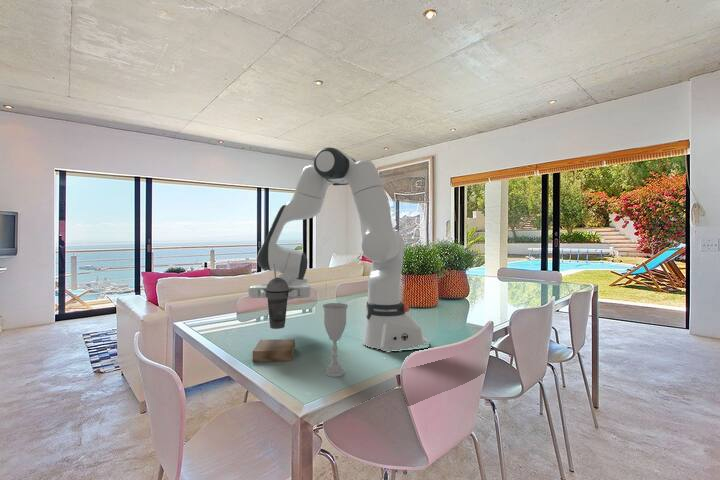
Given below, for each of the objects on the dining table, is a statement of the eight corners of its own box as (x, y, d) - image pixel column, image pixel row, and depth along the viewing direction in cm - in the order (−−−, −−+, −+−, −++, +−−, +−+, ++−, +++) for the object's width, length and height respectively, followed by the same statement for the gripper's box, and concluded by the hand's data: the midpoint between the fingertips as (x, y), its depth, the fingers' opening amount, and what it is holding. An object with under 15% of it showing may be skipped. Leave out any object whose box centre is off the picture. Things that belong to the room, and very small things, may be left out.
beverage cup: (283, 330, 104) (283, 265, 104) (261, 329, 106) (261, 264, 106) (292, 324, 112) (292, 263, 111) (271, 323, 113) (272, 262, 113)
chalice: (322, 367, 95) (322, 303, 95) (346, 367, 96) (347, 302, 95) (321, 378, 88) (322, 308, 88) (348, 378, 88) (348, 308, 88)
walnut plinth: (294, 348, 111) (295, 339, 111) (291, 360, 100) (291, 350, 100) (260, 349, 110) (260, 339, 110) (252, 361, 99) (252, 351, 99)
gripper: (253, 279, 121) (243, 285, 107) (311, 279, 122) (309, 284, 109) (253, 297, 121) (243, 305, 107) (311, 296, 122) (309, 304, 109)
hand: (277, 295), depth 108 cm, fingers closed on beverage cup, 7 cm apart
